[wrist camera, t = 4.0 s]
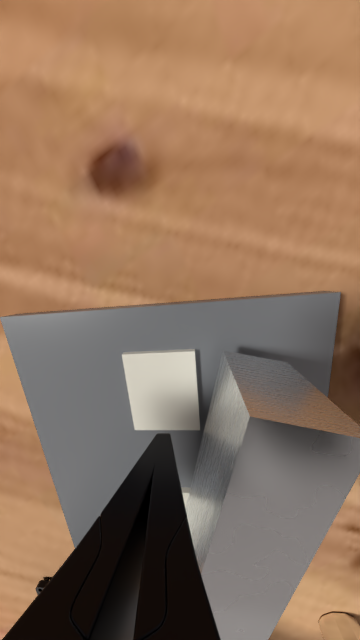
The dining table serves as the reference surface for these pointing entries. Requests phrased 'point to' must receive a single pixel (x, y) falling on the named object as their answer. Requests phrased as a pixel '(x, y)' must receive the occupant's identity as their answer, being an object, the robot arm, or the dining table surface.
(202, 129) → the dining table surface
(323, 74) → the dining table surface
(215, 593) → the swing bar
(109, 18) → the dining table surface
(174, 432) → the label plate
